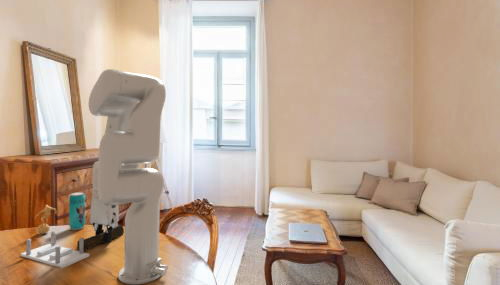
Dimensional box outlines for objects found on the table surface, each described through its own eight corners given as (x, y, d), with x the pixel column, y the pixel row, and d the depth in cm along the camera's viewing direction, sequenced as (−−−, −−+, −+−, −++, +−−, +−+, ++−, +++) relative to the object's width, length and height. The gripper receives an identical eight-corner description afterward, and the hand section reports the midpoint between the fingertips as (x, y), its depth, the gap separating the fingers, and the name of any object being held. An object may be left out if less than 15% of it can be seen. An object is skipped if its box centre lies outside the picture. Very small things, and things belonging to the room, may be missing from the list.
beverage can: (76, 231, 117) (76, 195, 116) (65, 229, 119) (66, 194, 118) (88, 227, 122) (88, 192, 122) (78, 225, 124) (78, 191, 124)
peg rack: (89, 256, 95) (89, 239, 94) (62, 268, 86) (62, 249, 86) (49, 245, 102) (49, 230, 102) (20, 256, 93) (20, 238, 93)
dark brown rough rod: (83, 253, 97) (83, 239, 97) (76, 250, 99) (76, 237, 99) (128, 235, 115) (128, 224, 114) (121, 234, 116) (121, 222, 116)
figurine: (51, 229, 118) (51, 201, 118) (60, 232, 116) (60, 203, 115) (28, 236, 110) (29, 205, 110) (38, 238, 108) (38, 207, 108)
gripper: (128, 194, 107) (127, 241, 108) (96, 189, 113) (96, 234, 113) (112, 198, 100) (111, 249, 101) (79, 193, 106) (78, 241, 106)
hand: (103, 241), depth 107 cm, fingers closed on dark brown rough rod, 3 cm apart
